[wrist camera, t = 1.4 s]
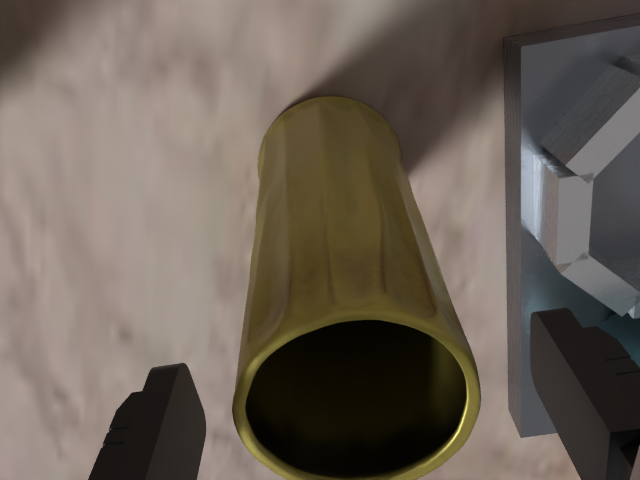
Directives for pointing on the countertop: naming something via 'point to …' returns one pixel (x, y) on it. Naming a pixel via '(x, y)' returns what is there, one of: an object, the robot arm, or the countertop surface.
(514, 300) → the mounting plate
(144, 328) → the countertop surface
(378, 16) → the countertop surface
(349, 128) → the vase
